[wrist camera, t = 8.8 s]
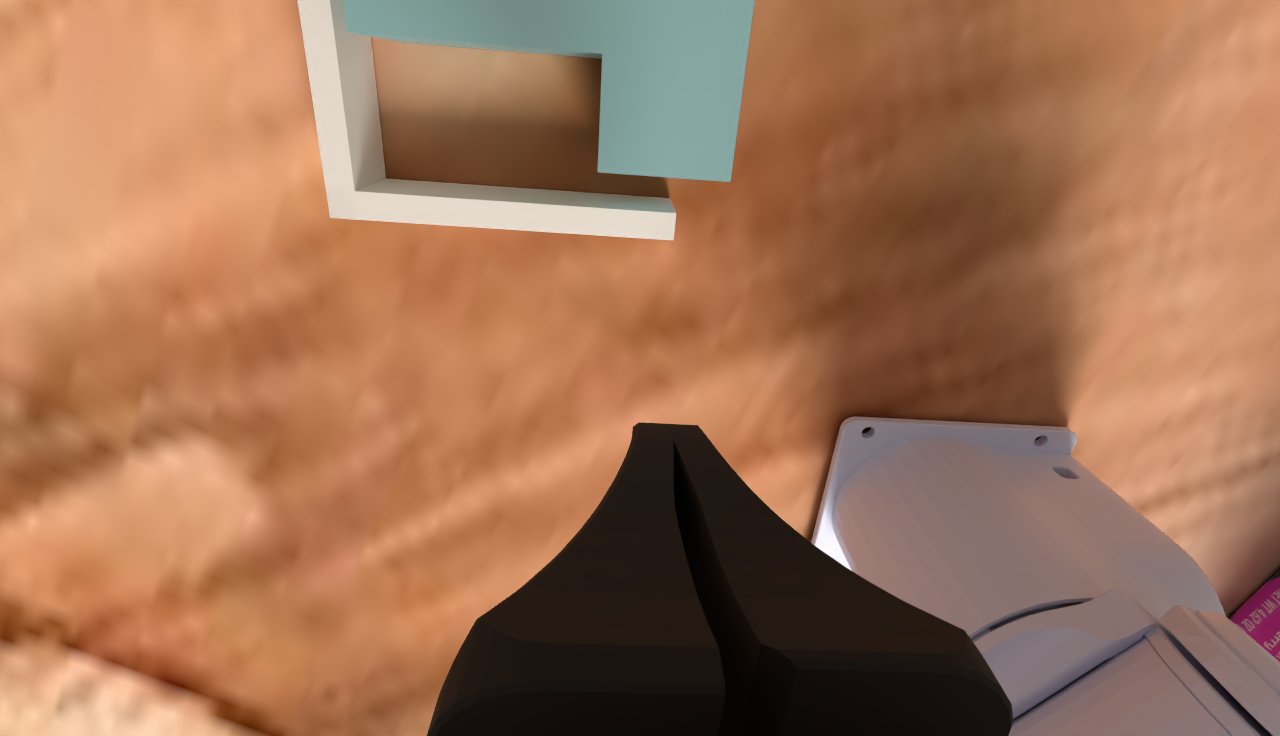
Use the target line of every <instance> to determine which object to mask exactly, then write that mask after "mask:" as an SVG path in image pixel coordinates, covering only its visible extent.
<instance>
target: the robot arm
mask: <svg viewBox="0 0 1280 736" xmlns="http://www.w3.org/2000/svg"><path fill="white" fill-rule="evenodd" d="M866 427H871V429H870V431H868V432H867V433H862V431H863V429H865V428H866ZM1039 436H1041V437H1040V438H1039V439H1038V440H1036V441H1035V439H1036V438H1037V437H1039ZM1076 441H1077V435H1076V434H1075V433H1074V432H1073V431H1071V430H1070V429H1069V428H1066V427H1055V426H1035V425H1015V424H995V423H975V422H955V421H935V420H915V419H896V418H876V417H856V416H855V417H850V418H848V419H846V420H845V421H843V422H842V424H841V426H840V430H839V434H838V438H837V442H836V445H835V449H834V453H833V457H832V461H831V465H830V469H829V473H828V477H827V481H826V485H825V489H824V493H823V497H822V501H821V505H820V509H819V513H818V517H817V521H816V525H815V529H814V532H813V536H812V540H811V542H809V541H808V540H807V539H805V538H804V537H803V536H802V535H800V534H799V533H798V532H797V531H796V530H794V529H793V528H792V527H791V526H789V525H788V524H787V523H786V522H785V521H783V520H782V519H781V518H780V517H779V516H778V515H777V514H775V513H774V512H773V511H772V510H771V509H770V508H769V507H768V506H767V505H766V504H765V503H764V502H763V501H762V500H761V499H760V498H759V497H758V496H757V495H756V494H755V493H754V492H753V491H752V490H751V489H750V488H749V487H748V486H747V485H746V484H745V483H744V481H743V480H742V479H741V478H740V477H739V476H738V475H737V473H736V472H735V471H734V470H733V469H732V468H731V467H730V465H729V464H728V463H727V462H726V460H725V459H724V458H723V457H722V456H721V454H720V453H719V452H718V451H717V449H716V448H715V447H714V445H713V444H712V443H711V441H710V440H709V439H708V438H707V436H706V435H705V434H704V432H703V431H702V430H701V429H700V428H699V426H698V425H679V424H658V423H638V424H636V425H635V426H634V427H633V432H632V440H631V443H630V446H629V449H628V452H627V454H626V457H625V459H624V461H623V463H622V465H621V467H620V469H619V472H618V474H617V476H616V478H615V479H614V481H613V483H612V484H611V486H610V488H609V489H608V491H607V493H606V494H605V496H604V498H603V499H602V501H601V502H600V504H599V505H598V507H597V508H596V510H595V511H594V512H593V514H592V515H591V517H590V518H589V519H588V520H587V522H586V523H585V524H584V526H583V527H582V528H581V529H580V531H579V532H578V533H577V534H576V535H575V536H574V537H573V539H572V540H571V541H570V542H569V543H568V544H567V545H566V546H565V548H564V549H563V550H562V551H561V552H560V553H559V554H558V555H557V556H556V557H555V558H554V559H553V560H552V561H551V562H550V563H548V564H547V565H546V566H545V567H544V568H543V569H542V570H541V571H539V572H538V573H537V574H536V575H535V576H534V577H533V578H532V579H530V580H529V581H528V582H527V583H526V584H525V585H524V586H522V587H521V588H520V589H519V590H517V591H516V592H515V593H513V594H512V595H511V596H509V597H508V598H506V599H505V600H504V601H502V602H501V603H499V604H498V605H497V606H495V607H494V608H492V609H491V610H490V611H488V612H487V613H485V614H484V615H482V616H481V617H479V618H478V619H477V620H476V622H475V623H474V625H473V627H472V628H471V630H470V632H469V634H468V636H467V637H466V639H465V641H464V643H463V644H462V646H461V648H460V650H459V652H458V654H457V656H456V658H455V660H454V662H453V664H452V666H451V668H450V671H449V673H448V675H447V677H446V680H445V682H444V684H443V687H442V689H441V692H440V694H439V697H438V701H437V704H436V707H435V710H434V714H433V717H432V720H431V724H430V727H429V730H428V734H427V736H1280V662H1279V661H1278V660H1277V659H1276V658H1275V657H1273V656H1272V655H1271V654H1270V653H1269V652H1268V651H1266V650H1265V649H1264V648H1263V647H1262V646H1261V645H1259V644H1258V643H1257V642H1256V641H1255V640H1254V639H1252V638H1251V637H1250V636H1249V635H1248V634H1246V633H1245V632H1244V631H1243V630H1242V629H1241V628H1239V627H1238V626H1237V625H1236V624H1235V623H1233V622H1232V621H1231V620H1230V619H1228V618H1227V617H1226V615H1225V613H1224V610H1223V607H1222V605H1221V602H1220V600H1219V598H1218V596H1217V594H1216V592H1215V590H1214V588H1213V586H1212V584H1211V583H1210V581H1209V580H1208V578H1207V577H1206V575H1205V574H1204V572H1203V571H1202V569H1201V568H1200V567H1199V566H1198V564H1197V563H1196V562H1195V561H1194V560H1193V558H1192V557H1191V556H1190V555H1189V554H1188V553H1187V552H1186V551H1185V550H1183V549H1182V548H1181V547H1180V546H1179V545H1178V544H1176V543H1175V542H1174V541H1173V540H1172V539H1170V538H1169V537H1168V536H1167V535H1166V534H1164V533H1163V532H1162V531H1161V530H1160V529H1158V528H1157V527H1156V526H1155V525H1154V524H1152V523H1151V522H1150V521H1149V520H1148V519H1146V518H1145V517H1144V516H1143V515H1142V514H1140V513H1139V512H1138V511H1137V510H1136V509H1134V508H1133V507H1132V506H1131V505H1130V504H1128V503H1127V502H1126V501H1125V500H1124V499H1122V498H1121V497H1120V496H1119V495H1118V494H1116V493H1115V492H1114V491H1113V490H1112V489H1110V488H1109V487H1108V486H1107V485H1106V484H1104V483H1103V482H1102V481H1101V480H1100V479H1098V478H1097V477H1096V476H1095V475H1094V474H1092V473H1091V472H1090V471H1089V470H1088V469H1086V468H1085V467H1084V466H1083V465H1082V464H1080V463H1079V462H1078V461H1077V460H1076V459H1074V458H1073V457H1072V456H1071V453H1072V451H1073V448H1074V446H1075V444H1076Z"/></svg>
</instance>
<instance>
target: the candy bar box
mask: <svg viewBox="0 0 1280 736" xmlns="http://www.w3.org/2000/svg"><path fill="white" fill-rule="evenodd" d="M1228 619H1230V620H1231V621H1232V622H1233V623H1235V624H1236V625H1237V626H1238V627H1239V628H1241V629H1242V630H1243V631H1244V632H1245V633H1246V634H1248V635H1249V636H1250V637H1251V638H1252V639H1254V640H1255V641H1256V642H1257V643H1258V644H1259V645H1261V646H1262V647H1263V648H1264V649H1265V650H1266V651H1268V652H1269V653H1270V654H1271V655H1272V656H1273V657H1275V658H1276V659H1277V660H1278V661H1279V662H1280V570H1279V571H1278V572H1277V573H1276V574H1275V575H1274V576H1273V577H1272V578H1271V579H1269V580H1268V581H1267V582H1266V583H1265V584H1264V585H1263V586H1262V587H1261V588H1260V589H1259V590H1258V591H1257V592H1256V593H1255V594H1254V595H1253V596H1251V597H1250V598H1249V599H1248V600H1247V601H1246V602H1245V603H1244V604H1243V605H1242V606H1241V607H1240V608H1239V609H1238V610H1237V611H1236V612H1235V613H1234V614H1233V615H1232V616H1231V617H1230V618H1228Z"/></svg>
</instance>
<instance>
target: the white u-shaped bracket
mask: <svg viewBox="0 0 1280 736" xmlns="http://www.w3.org/2000/svg"><path fill="white" fill-rule="evenodd" d="M297 1H298V7H299V14H300V21H301V27H302V34H303V41H304V47H305V54H306V61H307V67H308V74H309V80H310V87H311V94H312V100H313V107H314V114H315V120H316V127H317V134H318V140H319V147H320V154H321V160H322V167H323V173H324V180H325V187H326V193H327V200H328V207H329V213H330V218H341V219H357V220H372V221H387V222H402V223H417V224H433V225H448V226H463V227H478V228H493V229H509V230H524V231H539V232H554V233H569V234H585V235H600V236H615V237H630V238H646V239H661V240H674V230H675V220H676V212H675V209H674V207H673V204H672V202H671V200H670V198H659V197H645V196H631V195H616V194H602V193H588V192H573V191H559V190H545V189H530V188H516V187H501V186H487V185H473V184H458V183H444V182H430V181H415V180H401V179H387V178H386V172H385V163H384V154H383V144H382V135H381V126H380V116H379V107H378V98H377V88H376V79H375V70H374V60H373V51H372V42H371V37H370V36H365V35H359V34H354V33H348V32H347V31H346V23H345V15H344V7H343V0H297Z"/></svg>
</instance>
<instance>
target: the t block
mask: <svg viewBox="0 0 1280 736" xmlns="http://www.w3.org/2000/svg"><path fill="white" fill-rule="evenodd" d="M754 1H755V0H343V7H344V15H345V23H346V31H347V32H348V33H354V34H359V35H365V36H370V37H376V38H381V39H387V40H392V41H398V42H404V43H416V44H428V45H440V46H452V47H464V48H477V49H489V50H501V51H513V52H525V53H537V54H550V55H562V56H574V57H586V58H598V59H602V73H601V98H600V123H599V148H598V172H599V173H613V174H627V175H641V176H655V177H669V178H683V179H697V180H711V181H725V182H731V174H732V167H733V159H734V152H735V144H736V137H737V129H738V121H739V114H740V106H741V99H742V91H743V84H744V76H745V69H746V61H747V54H748V46H749V39H750V31H751V24H752V16H753V9H754Z"/></svg>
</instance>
